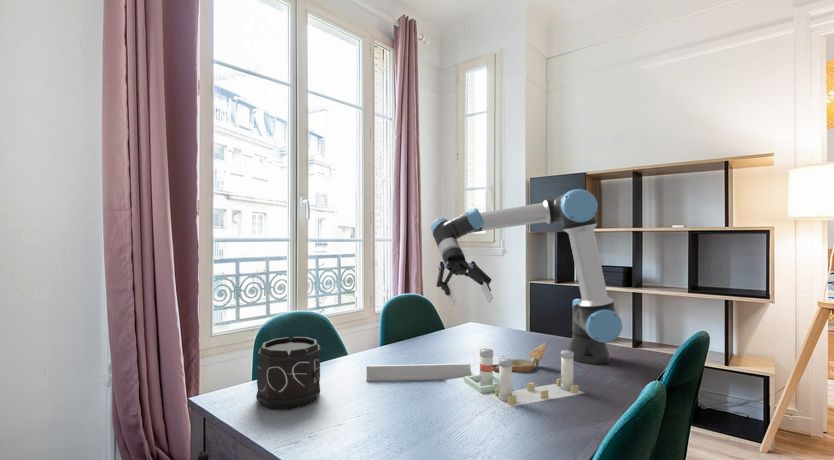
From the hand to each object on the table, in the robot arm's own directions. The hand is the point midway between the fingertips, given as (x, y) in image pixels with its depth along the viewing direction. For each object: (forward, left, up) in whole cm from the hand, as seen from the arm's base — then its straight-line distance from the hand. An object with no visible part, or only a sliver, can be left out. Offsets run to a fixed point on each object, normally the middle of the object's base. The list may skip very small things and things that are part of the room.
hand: (472, 301), depth 131 cm
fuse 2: (-21, +20, -24) cm, 38 cm away
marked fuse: (0, +8, -25) cm, 26 cm away
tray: (0, +8, -26) cm, 27 cm away
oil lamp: (-19, -1, -26) cm, 32 cm away
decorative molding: (+14, -12, -26) cm, 32 cm away
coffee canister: (+56, -6, -26) cm, 62 cm away
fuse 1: (+1, +20, -24) cm, 31 cm away
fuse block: (-10, +20, -26) cm, 34 cm away
